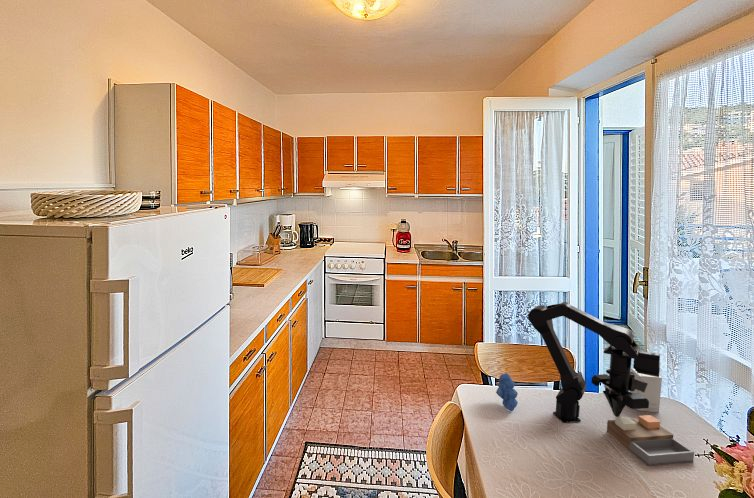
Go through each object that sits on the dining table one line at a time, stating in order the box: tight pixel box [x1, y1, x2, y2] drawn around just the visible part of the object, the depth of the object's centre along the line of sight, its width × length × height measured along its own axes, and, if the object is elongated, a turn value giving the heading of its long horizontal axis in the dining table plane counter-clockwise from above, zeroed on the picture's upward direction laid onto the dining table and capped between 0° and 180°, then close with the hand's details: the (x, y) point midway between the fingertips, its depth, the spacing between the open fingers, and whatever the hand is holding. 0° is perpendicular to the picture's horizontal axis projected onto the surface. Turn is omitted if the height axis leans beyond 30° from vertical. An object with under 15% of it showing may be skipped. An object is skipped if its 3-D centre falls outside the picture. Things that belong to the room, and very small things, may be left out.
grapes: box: [495, 372, 519, 412], centre depth 149 cm, size 12×7×12 cm, turn 9°
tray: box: [628, 437, 695, 467], centre depth 121 cm, size 14×7×3 cm, turn 98°
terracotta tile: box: [638, 414, 661, 429], centre depth 131 cm, size 4×4×2 cm
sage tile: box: [614, 416, 636, 430], centre depth 130 cm, size 4×4×2 cm
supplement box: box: [629, 368, 663, 413], centre depth 150 cm, size 7×7×13 cm
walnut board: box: [606, 417, 674, 451], centre depth 130 cm, size 14×10×4 cm
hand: (616, 416), depth 134 cm, fingers closed
